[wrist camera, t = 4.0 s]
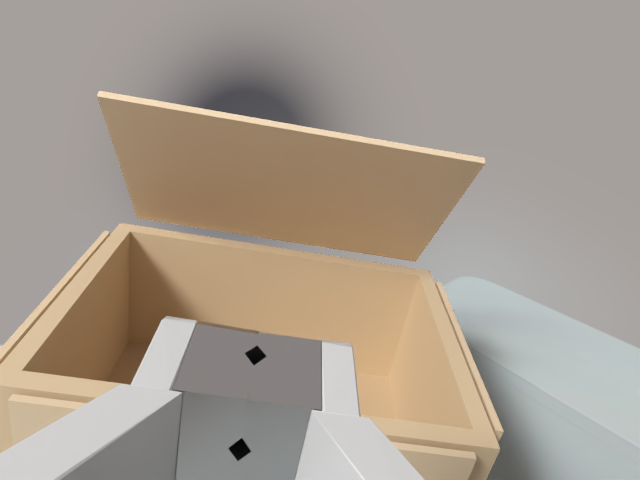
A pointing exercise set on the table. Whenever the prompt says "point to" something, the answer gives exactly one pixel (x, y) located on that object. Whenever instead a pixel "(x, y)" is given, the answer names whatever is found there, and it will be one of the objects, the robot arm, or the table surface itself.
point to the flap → (283, 178)
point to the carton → (261, 315)
